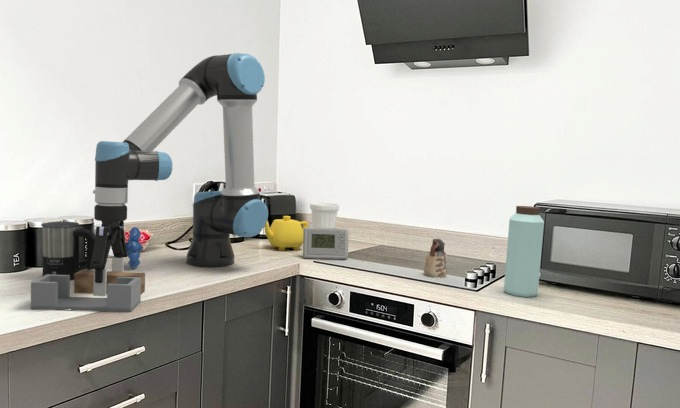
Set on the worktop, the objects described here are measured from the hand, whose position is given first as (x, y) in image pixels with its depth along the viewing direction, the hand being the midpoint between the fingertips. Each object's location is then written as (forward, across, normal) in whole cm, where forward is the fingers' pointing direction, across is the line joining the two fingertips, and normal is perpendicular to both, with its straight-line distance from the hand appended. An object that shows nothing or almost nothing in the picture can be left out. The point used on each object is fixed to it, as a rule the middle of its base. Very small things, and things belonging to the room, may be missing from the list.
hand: (109, 288), depth 141 cm
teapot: (0, -70, +42) cm, 82 cm away
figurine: (0, -32, +91) cm, 97 cm away
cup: (0, -93, +58) cm, 110 cm away
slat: (+1, 0, 0) cm, 1 cm away
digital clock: (0, -54, +57) cm, 79 cm away
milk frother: (+1, -18, -16) cm, 24 cm away
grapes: (+1, -29, -3) cm, 29 cm away
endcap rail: (+1, +12, -1) cm, 12 cm away
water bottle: (0, -12, +111) cm, 112 cm away
